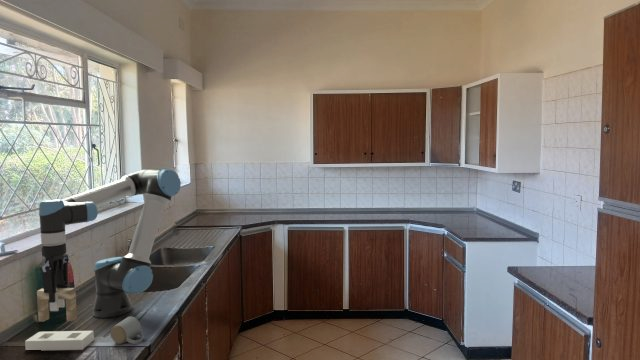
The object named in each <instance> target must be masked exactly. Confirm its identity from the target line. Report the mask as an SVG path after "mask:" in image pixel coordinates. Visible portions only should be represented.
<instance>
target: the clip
mask: <svg viewBox="0 0 640 360" xmlns="http://www.w3.org/2000/svg"><path fill="white" fill-rule="evenodd" d="M56 292H58V299H64V300H65V310H66V311H65V312H66V313H65V314H66V316H65V317H66V322H73V321H75V320H76V319H78V312H77V311H78V310H77V295H76V294H77V293H76V287H67V288H57V287H56ZM36 298H37V299H36V300H37V301H36V303H37V317H38V322H41V323H42V322H45V321H47V320H49V319H50V303H49V294H48V293H44V288H43V287H42V288H40V289H38V290H36Z"/></svg>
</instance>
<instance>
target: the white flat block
mask: <svg viewBox="0 0 640 360" xmlns="http://www.w3.org/2000/svg"><path fill="white" fill-rule="evenodd" d="M94 340H95V335H94V330H66V331H65V330H60V331H59V330H56V331H55V330H54V331H38V332H36V333H35V334H33V335H32V336H30V337H29V338H27V339H26V340H25V341H24V344H25V345H24V346H25V351H26V350H41V351H81V350H82V351H83V350H84V349H86V347H88V346H89V345H90V344H91V343H92V342H94Z"/></svg>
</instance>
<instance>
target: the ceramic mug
mask: <svg viewBox="0 0 640 360" xmlns="http://www.w3.org/2000/svg"><path fill="white" fill-rule="evenodd" d="M138 336H139V337H140V338H139V339H136V340H135V338H136V337H138ZM110 337H111V339H112V341H113V342H114V343H116V344H117V345H122V344H125V343H127V342H128V343H129V344H131V345H132V344H133V345H138V344H140V343H141V342H143V339H144V334H143V332H142V326H141V323H140V321H139V320H138V319H137V318H136V317H134V316H127V317H126V318H124V319H123V320H121V321H119V322H118V323H117V324H115V325H113V327H112V328H111V329H110Z"/></svg>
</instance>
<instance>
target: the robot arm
mask: <svg viewBox="0 0 640 360" xmlns="http://www.w3.org/2000/svg"><path fill="white" fill-rule="evenodd" d="M181 184H182V183H181V179H180V176H179V175H178V173H177V172H176V171H174V170H172V169H170V168H169V169H168V168H145V169H141V170H137V171H135V172H131V173H129V174H126V175H123V176H122V177H121V178H120V179H119V180H116V181H113V182H110V183H108V184H105V185H102V186H99V187H96V188H93V189H89V190H86V191H85V192H82V193H79V194H74V195H72V196H69V197H67V198H64V199H46V200H42V201H40V202H39V205H38V206H39V207H38V208H39V209H38V215H39V216H38V217H39V227H40V229H39V230H40V243H41V244H42V245H41V255H42V257H44V258H45V260H44V265H41V266H39V269H40V273H41V277H42V285H43V286H42V288H44V293H48V294H49V299H48V304H49V312H59V310H60V309H59V308H66V300H65V299H58V292H56V288H68V283H69V278H68V275H69V273H68V272H69V271H68V269H69V268H68V266H69V257H65V256H64V255H65V254H66V253H67V243H65V242H67V239H66V226H69V225H75V224H82V223H88V222H93V221H95V220H96V219H97V217H98V214H99V213H98V208H99V207H101V206H104V205H107V204H109V203H112V202H115V201H117V200H120V199H123V198H125V197H129V198H132V197H135V196H138V195H142V196H143V197H144V203H143V206H142V209H141V212H140V214H139V218H138V221H137V225H136V227H135V230H134V234H133V237H132V239H131V240H132V241H131V242H130V246H129V250H128V252H127V254H125V255H124V256H114V257H109V258H104V259H100V260H98V261H96V262H95V263H94V276H95V278H94V279H95V294H96V295H95V300H94V304H93V308H92V315H93V316H94V318H101V319H103V318H104V319H105V318H114V317H118V316H122V315H125V314H127V313H129V312H130V311H132V303H131V300H130V297H129V295H128V294H131V295H132V294H134V295H135V294H136V295H137V294H142V293H143V292H144V291H146V290H147V289H148V288H149V287H150V286H151V285H152V282H153V279H154V274H153V269H152V268H151V265H152V262H151V260H150V257H151V256H150V255H151V253H152V250H153V246H154V242H155V241H156V240H155V239H156V238H157V237H156V236H157V233H158V230H159V226H160V224H161V220H162V218H163V214H164V211H165V208H166V205H167V204H169V203H171V200H172V197H174V196H176V195H177V194H178V193H179V192H180V190H181Z"/></svg>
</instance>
